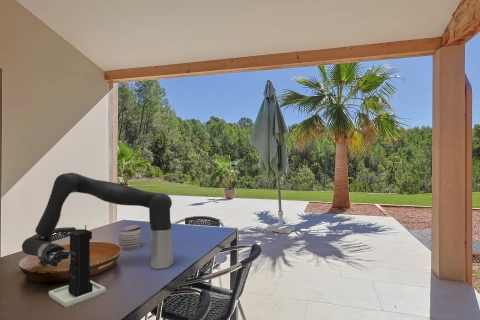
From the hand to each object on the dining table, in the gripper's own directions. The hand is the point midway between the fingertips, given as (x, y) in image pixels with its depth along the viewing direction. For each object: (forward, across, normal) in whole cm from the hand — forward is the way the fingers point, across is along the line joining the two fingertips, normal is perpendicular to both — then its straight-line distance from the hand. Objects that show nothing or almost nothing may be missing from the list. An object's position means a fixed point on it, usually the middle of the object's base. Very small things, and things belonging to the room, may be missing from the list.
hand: (68, 260), depth 114 cm
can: (-29, +44, +11) cm, 54 cm away
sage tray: (+7, 0, +11) cm, 13 cm away
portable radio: (+7, +1, +11) cm, 13 cm away
